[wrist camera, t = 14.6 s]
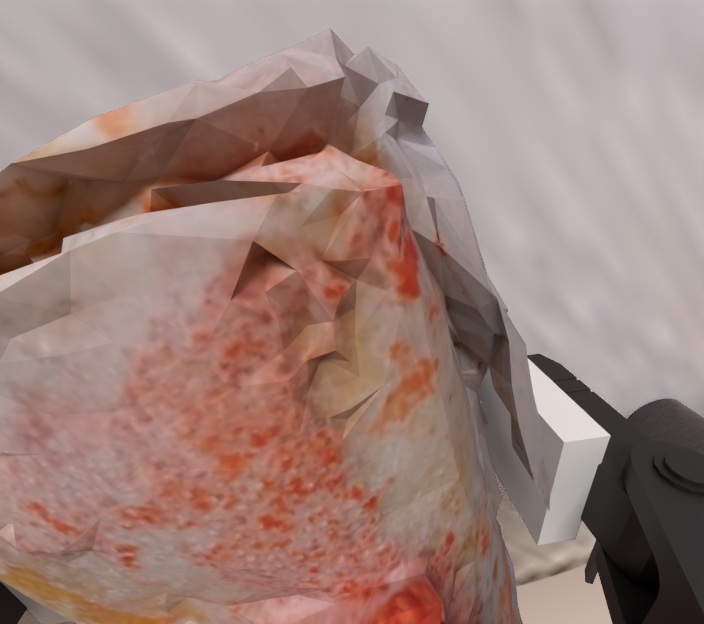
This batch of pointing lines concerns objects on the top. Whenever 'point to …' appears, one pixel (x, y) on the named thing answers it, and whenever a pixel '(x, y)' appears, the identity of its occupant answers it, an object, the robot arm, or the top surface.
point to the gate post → (671, 424)
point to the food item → (255, 361)
